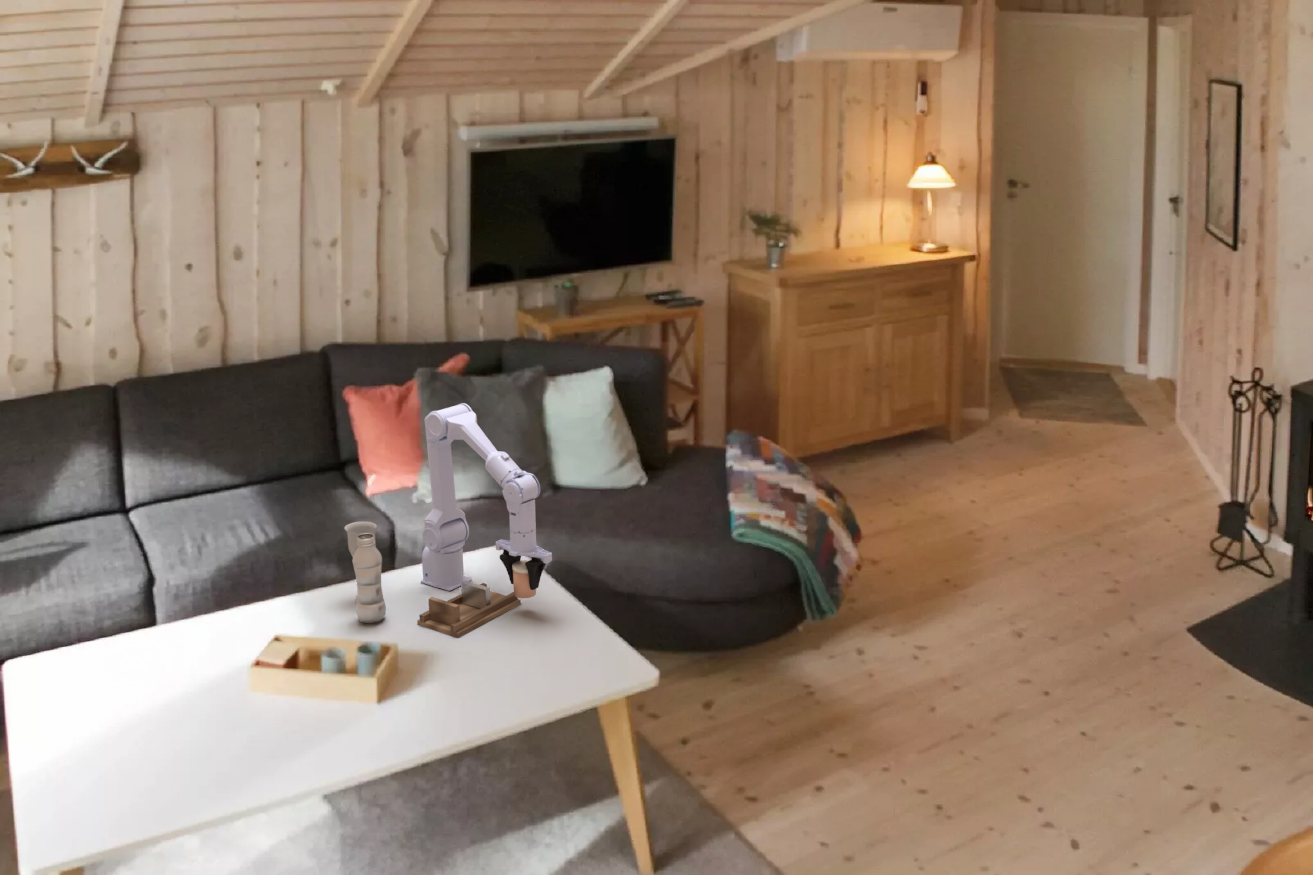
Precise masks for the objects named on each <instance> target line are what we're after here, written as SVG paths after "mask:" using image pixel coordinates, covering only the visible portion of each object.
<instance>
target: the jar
mask: <svg viewBox="0 0 1313 875" xmlns="http://www.w3.org/2000/svg"><path fill="white" fill-rule="evenodd" d="M527 561H529V560H528V559H527V560H525V559H523V560H521V559H520V561H517V562H515V563H513V564H512V570H513V584H512V586H513V587H512V588H513V592H514V596H515V597H518V599H530V598H534V597H536V595H537V588H536V589H534V590H531V589H530V584H529V574H528V570H527V567H526V565H525V562H527Z"/></svg>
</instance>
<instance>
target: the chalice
mask: <svg viewBox="0 0 1313 875" xmlns="http://www.w3.org/2000/svg"><path fill="white" fill-rule="evenodd" d="M377 527H378V525H377V524H376V523H374V522H372V521H371V522H370V521H355V522H350V523H349V524H348V523H347V524H346V525H345V526H344V530H345V532H346V534H347V545H348V546H347V547H348V548H347V549H348V551H349V552H350V554H351V557H352V558H353V556H354V554H355V552H356V550H357V549H358V547H359V546H358V545H357V542H358V541H357V537H358V536H359V535H360V534H365V533H370V534H373V535H374V541H375V544H374V546H375V547H376V548H377V546H376V545H377V542H376V529H377ZM354 602H355V603H356V604H357V595H356V598H355V600H354Z"/></svg>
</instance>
